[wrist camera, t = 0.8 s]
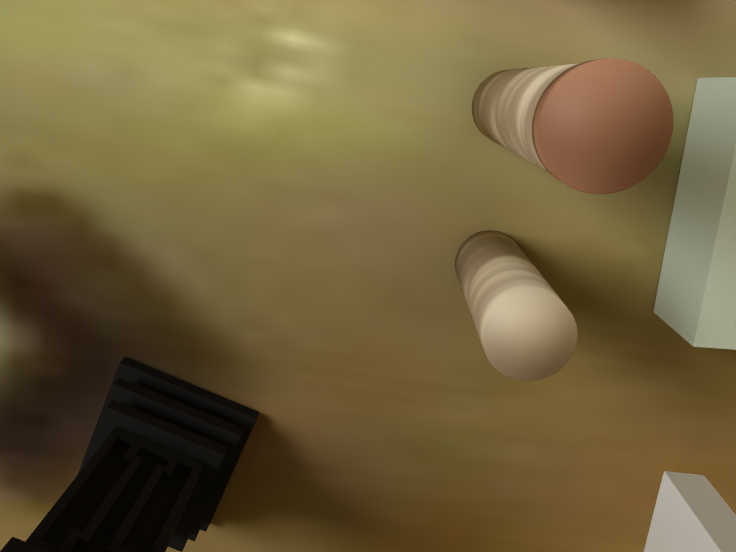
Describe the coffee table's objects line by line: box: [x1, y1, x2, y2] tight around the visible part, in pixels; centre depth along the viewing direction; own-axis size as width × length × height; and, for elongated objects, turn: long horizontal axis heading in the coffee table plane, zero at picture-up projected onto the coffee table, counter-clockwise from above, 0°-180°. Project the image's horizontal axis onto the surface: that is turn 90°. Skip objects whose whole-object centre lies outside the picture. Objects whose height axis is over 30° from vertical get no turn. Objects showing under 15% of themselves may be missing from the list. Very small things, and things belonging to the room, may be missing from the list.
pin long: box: [472, 59, 673, 194], centre depth 27 cm, size 4×4×16 cm
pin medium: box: [455, 231, 577, 381], centre depth 31 cm, size 4×4×11 cm
